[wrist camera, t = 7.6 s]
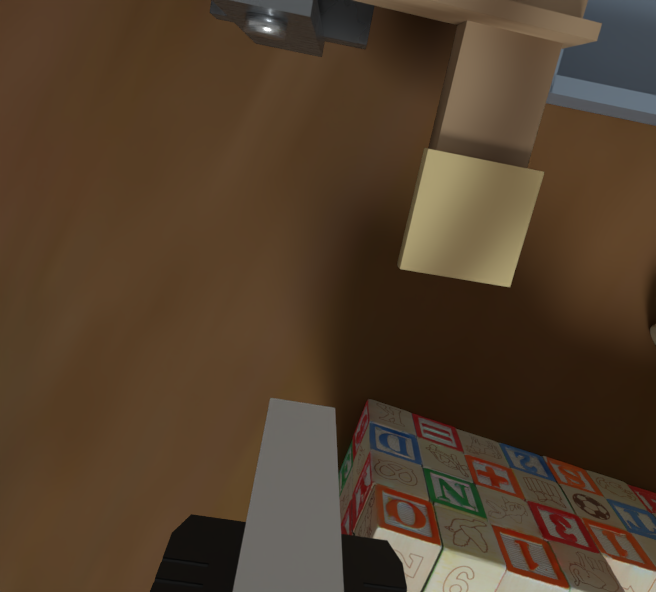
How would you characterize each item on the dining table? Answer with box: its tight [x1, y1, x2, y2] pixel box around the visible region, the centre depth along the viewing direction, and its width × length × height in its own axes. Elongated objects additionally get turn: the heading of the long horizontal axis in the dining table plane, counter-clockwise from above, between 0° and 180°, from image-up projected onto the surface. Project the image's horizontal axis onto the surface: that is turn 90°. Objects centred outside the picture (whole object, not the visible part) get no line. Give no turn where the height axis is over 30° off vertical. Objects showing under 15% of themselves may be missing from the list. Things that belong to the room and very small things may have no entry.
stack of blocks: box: [338, 399, 656, 592], centre depth 32 cm, size 21×6×12 cm, turn 72°
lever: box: [354, 0, 602, 287], centre depth 21 cm, size 24×17×5 cm
